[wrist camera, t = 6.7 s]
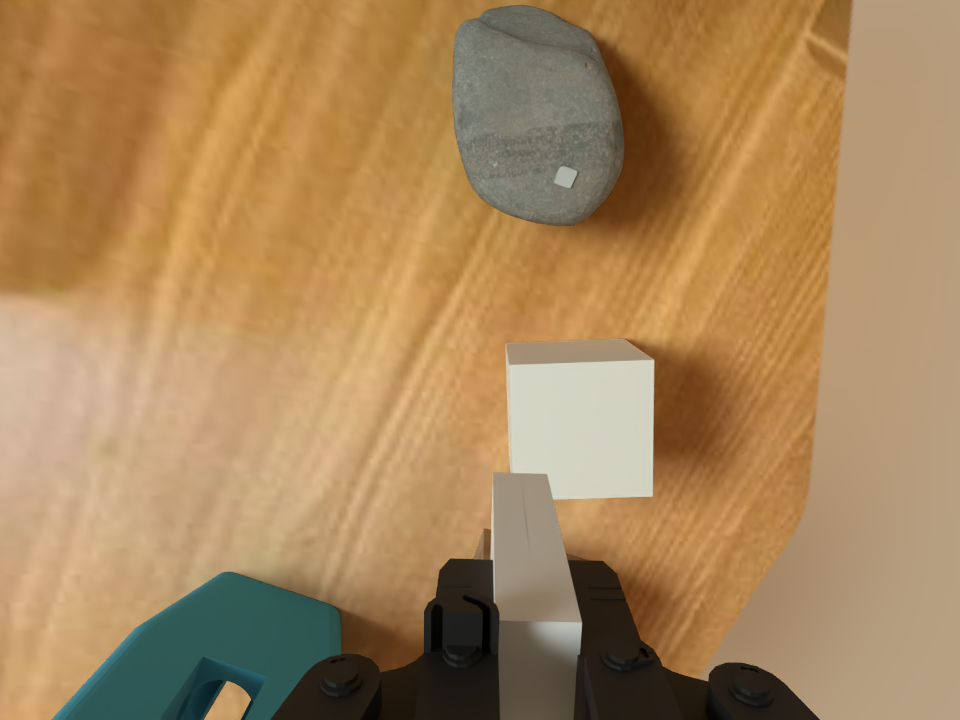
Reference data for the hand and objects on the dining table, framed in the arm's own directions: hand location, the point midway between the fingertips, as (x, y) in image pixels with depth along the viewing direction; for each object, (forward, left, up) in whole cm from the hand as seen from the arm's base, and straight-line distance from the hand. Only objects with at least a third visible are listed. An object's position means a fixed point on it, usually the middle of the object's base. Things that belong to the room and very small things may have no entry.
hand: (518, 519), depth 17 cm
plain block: (+1, +4, -21) cm, 21 cm away
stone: (-14, +1, -21) cm, 25 cm away
